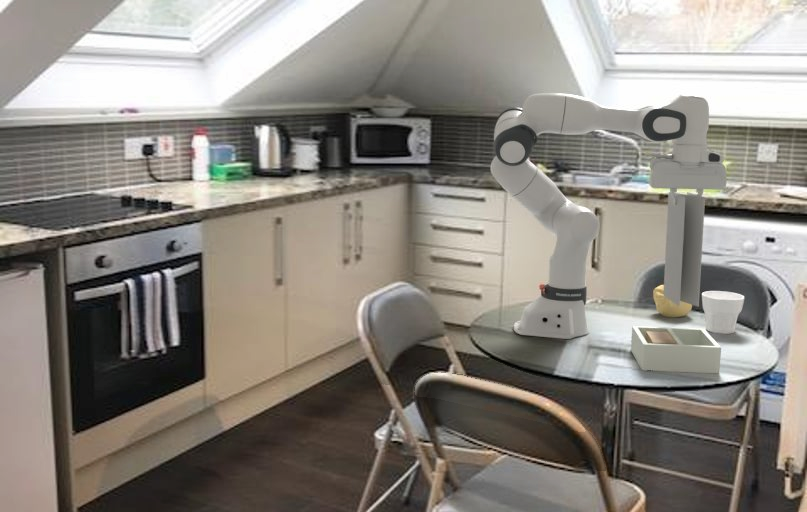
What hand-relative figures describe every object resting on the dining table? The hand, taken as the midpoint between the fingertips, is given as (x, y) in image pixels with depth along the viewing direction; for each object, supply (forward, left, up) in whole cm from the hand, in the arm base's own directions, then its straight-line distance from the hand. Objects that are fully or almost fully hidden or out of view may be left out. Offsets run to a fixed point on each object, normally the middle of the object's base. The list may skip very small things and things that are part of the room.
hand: (685, 205), depth 239 cm
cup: (+18, +22, -41) cm, 50 cm away
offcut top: (-7, -13, -38) cm, 41 cm away
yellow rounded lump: (+7, +39, -41) cm, 57 cm away
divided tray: (-3, -13, -41) cm, 43 cm away
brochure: (+1, 0, -27) cm, 27 cm away
